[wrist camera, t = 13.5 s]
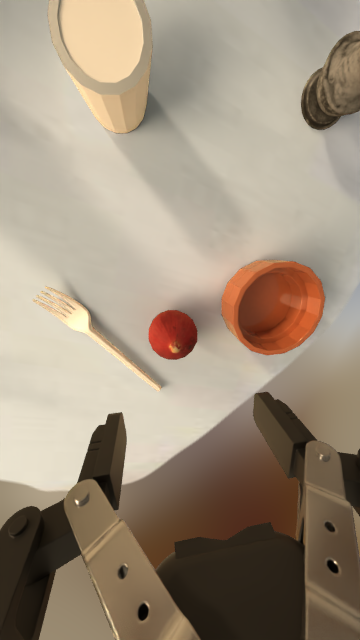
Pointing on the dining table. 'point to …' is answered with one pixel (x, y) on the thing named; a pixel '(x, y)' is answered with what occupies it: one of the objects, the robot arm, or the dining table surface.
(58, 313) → the fork
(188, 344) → the onion
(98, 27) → the cream cylinder
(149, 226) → the dining table surface
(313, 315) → the bowl
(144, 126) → the dining table surface
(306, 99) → the pawn-shaped pepper mill
